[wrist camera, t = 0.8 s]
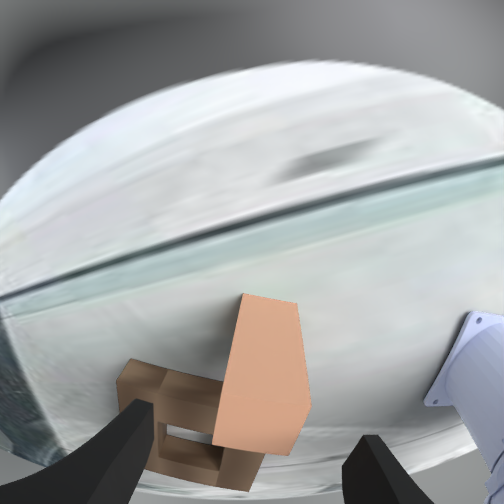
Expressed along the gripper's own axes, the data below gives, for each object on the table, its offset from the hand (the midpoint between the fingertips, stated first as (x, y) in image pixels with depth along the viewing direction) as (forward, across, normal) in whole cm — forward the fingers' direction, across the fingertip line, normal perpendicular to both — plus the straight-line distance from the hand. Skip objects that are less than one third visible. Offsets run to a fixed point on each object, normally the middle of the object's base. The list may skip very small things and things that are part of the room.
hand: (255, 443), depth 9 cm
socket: (+9, +3, +10) cm, 14 cm away
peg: (+9, 0, 0) cm, 9 cm away
